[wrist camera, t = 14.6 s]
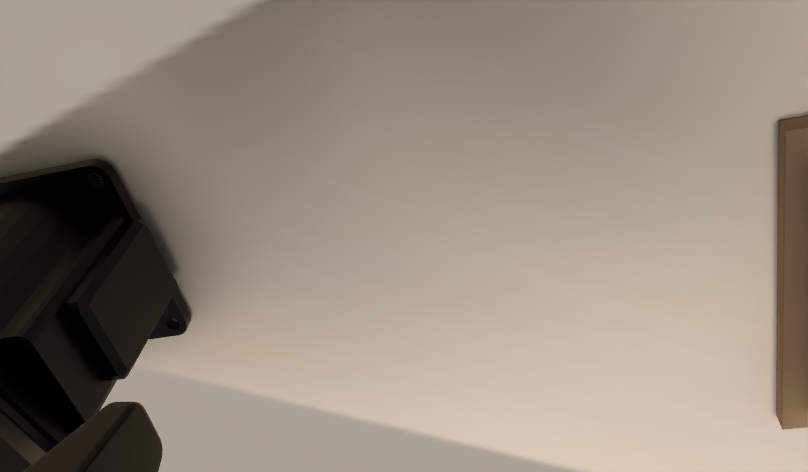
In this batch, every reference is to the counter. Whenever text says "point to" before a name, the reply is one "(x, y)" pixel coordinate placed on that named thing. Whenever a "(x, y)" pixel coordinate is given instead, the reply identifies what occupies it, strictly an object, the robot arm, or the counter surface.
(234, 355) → the counter surface
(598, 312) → the counter surface
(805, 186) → the socket
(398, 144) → the counter surface
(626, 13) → the counter surface
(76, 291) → the robot arm
